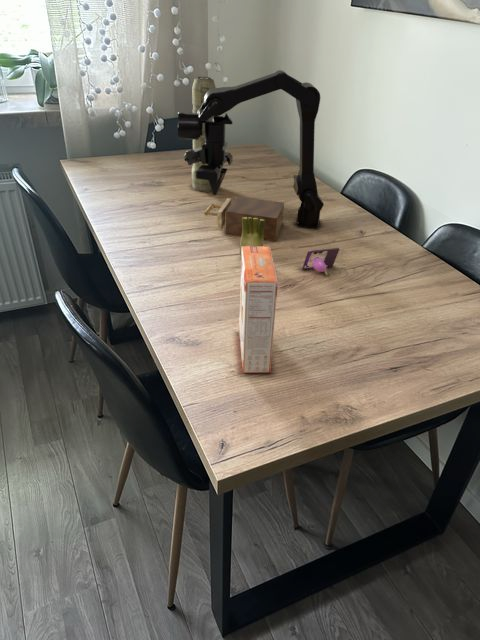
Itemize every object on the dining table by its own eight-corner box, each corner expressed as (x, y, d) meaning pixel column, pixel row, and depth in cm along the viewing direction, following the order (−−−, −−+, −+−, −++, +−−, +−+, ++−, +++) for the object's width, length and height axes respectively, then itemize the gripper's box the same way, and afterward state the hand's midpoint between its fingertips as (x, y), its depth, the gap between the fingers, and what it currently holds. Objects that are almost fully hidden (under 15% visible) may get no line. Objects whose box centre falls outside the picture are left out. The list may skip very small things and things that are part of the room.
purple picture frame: (338, 245, 133) (306, 248, 130) (345, 260, 131) (313, 263, 128) (331, 263, 139) (300, 266, 136) (337, 277, 136) (307, 281, 133)
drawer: (201, 227, 151) (201, 209, 148) (212, 213, 161) (212, 196, 158) (264, 236, 149) (265, 218, 146) (271, 221, 159) (272, 204, 155)
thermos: (195, 193, 175) (194, 81, 154) (189, 182, 184) (186, 74, 163) (220, 192, 178) (222, 81, 157) (213, 181, 187) (213, 74, 166)
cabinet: (225, 234, 151) (226, 211, 146) (235, 217, 161) (236, 196, 157) (275, 241, 149) (277, 218, 145) (282, 224, 159) (284, 202, 155)
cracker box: (237, 333, 110) (240, 244, 97) (264, 333, 111) (271, 245, 98) (240, 374, 99) (244, 280, 86) (271, 374, 99) (279, 280, 87)
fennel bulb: (263, 259, 139) (267, 217, 132) (254, 266, 135) (256, 223, 128) (246, 253, 141) (248, 212, 134) (236, 259, 138) (237, 217, 131)
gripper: (197, 128, 150) (197, 181, 159) (176, 145, 135) (178, 202, 145) (233, 133, 149) (232, 185, 158) (217, 150, 134) (216, 207, 143)
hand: (214, 194), depth 151 cm, fingers closed
